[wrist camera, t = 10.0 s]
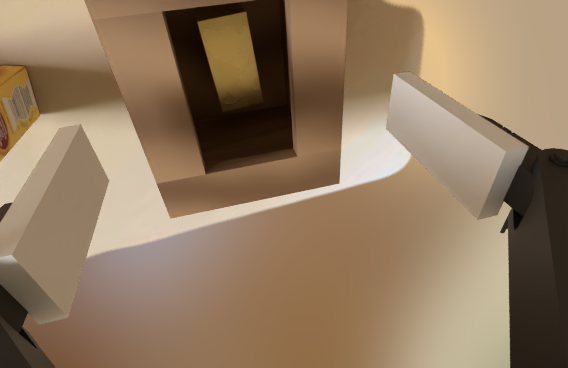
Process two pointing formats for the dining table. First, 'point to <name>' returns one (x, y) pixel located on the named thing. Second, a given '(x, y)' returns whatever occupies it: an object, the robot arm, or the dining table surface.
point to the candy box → (15, 106)
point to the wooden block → (230, 54)
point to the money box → (238, 122)
